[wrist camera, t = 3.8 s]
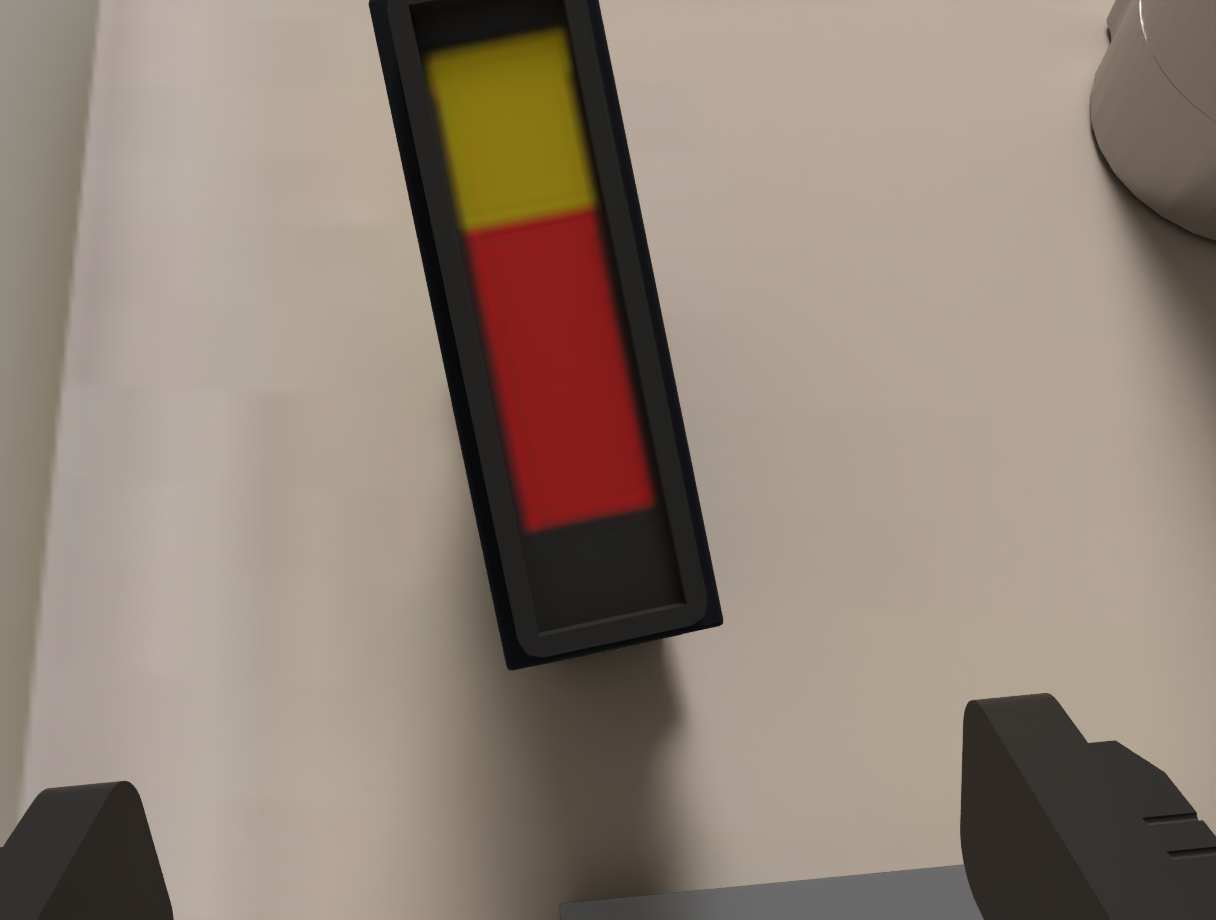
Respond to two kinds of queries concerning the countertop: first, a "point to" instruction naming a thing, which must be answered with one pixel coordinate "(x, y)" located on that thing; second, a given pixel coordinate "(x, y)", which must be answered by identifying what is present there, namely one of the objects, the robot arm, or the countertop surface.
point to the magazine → (548, 323)
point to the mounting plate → (804, 900)
